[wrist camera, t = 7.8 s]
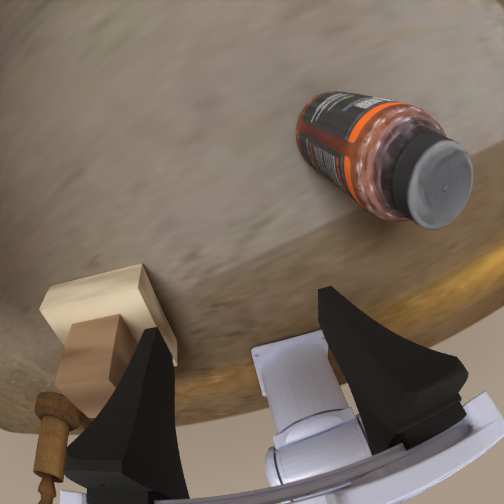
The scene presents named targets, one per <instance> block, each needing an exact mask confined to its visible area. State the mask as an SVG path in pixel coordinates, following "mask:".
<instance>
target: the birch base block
mask: <svg viewBox="0 0 504 504" xmlns="http://www.w3.org/2000/svg"><path fill="white" fill-rule="evenodd" d="M39 310H40V311H41V313H42V315H43V316H44V317H45V319H46V320H47V322H48V323H49V325H50V326H51V328H52V329H53V330H54V332H55V333H56V335H57V336H58V337H59V339H60V340H61V342H62V343H63V344H64V346H65V344H66V341H67V338H68V335H69V332H70V328H71V325H72V324H74V323H78V322H83V321H88V320H93V319H98V318H102V317H107V316H112V315H116V314H120V315H121V317H122V318H123V320H124V322H125V324H126V325H127V327H128V328H129V330H130V332H131V333H132V335H133V337H134V338H135V340H136V341H137V343H139V340H140V338H141V336H142V334H143V331H144V330H145V329H148V328H153V327H158V329H159V331H160V333H161V335H162V337H163V338H164V340H165V342H166V344H167V346H168V348H169V350H170V352H171V353H172V355H173V364H174V366H178V365H177V340H176V338H175V336H174V334H173V332H172V329H171V327H170V325H169V323H168V321H167V319H166V317H165V315H164V312H163V310H162V308H161V306H160V304H159V301H158V299H157V297H156V295H155V292H154V290H153V288H152V285H151V283H150V281H149V278H148V276H147V274H146V271H145V269H144V266H143V264H138V265H133V266H129V267H125V268H121V269H117V270H113V271H109V272H105V273H101V274H97V275H93V276H88V277H84V278H80V279H76V280H72V281H68V282H64V283H60V284H57V285H53V286H50V287H49V289H48V292H47V294H46V296H45V298H44V300H43V302H42V304H41V306H40V308H39Z"/></svg>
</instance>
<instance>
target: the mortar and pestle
mask: <svg viewBox="0 0 504 504" xmlns="http://www.w3.org/2000/svg"><path fill="white" fill-rule="evenodd" d="M34 410H35V413H36V415H37V416H38V418H39V419H40V421H41V427H40V433H39V438H38V444H37V450H36V457H35V463H34V470H33V472H34V473H35V474H36V475H38V476H39V477H42V480H41V482H40V485H39V487H38V492H40V494H41V500H40V502H39V503H38V504H52V501H53V498H54V497H56V490H55V485H54V482H58V483H62V482H63V479H64V462H65V453H66V447H67V441H68V435H69V431H73V430H74V429H77V428H78V427H79V425H80V419H81V413H82V411H80V410H79V409H78V408H77V407H76V406H75V405H74V404H73V403H72V402H71V401H70V400H69V399H68V398H67V397H65V396H63V395H60V394H56V393H52V392H42V393H40V394H39V395H38V396H37V400H36V404H35V409H34Z"/></svg>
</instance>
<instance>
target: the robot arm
mask: <svg viewBox="0 0 504 504" xmlns="http://www.w3.org/2000/svg"><path fill="white" fill-rule="evenodd" d="M318 321H319V324H320V327H321V329H322V330H318V331H315V332H311V333H308V334H304V335H300V336H297V337H293V338H289V339H285V340H282V341H278V342H274V343H270V344H266V345H262V346H258V347H254V348H253V349H252V350H251V353H252V357H253V361H254V364H255V368H256V372H257V376H258V380H259V383H260V387H261V391H262V395H263V396H267V399H268V403H269V407H270V411H271V414H272V418H273V422H274V425H275V429H276V433H277V435H276V436H274V437H273V441H274V445H275V446H273V447H270V448H269V449H268V452H267V454H266V456H265V469H266V474H267V477H268V480H269V483H270V486H271V487H269V488H264V489H259V490H253V491H248V492H242V493H236V494H229V495H222V496H215V497H205V498H195V499H190V497H189V494H188V490H187V487H186V483H185V479H184V474H183V470H182V465H181V461H180V456H179V450H178V443H177V436H176V429H175V374H174V364H173V355H172V353H171V352H170V350H169V348H168V346H167V344H166V342H165V340H164V338H163V337H162V335H161V333H160V331H159V329H158V327H153V328H148V329H145V330H144V331H143V334H142V336H141V338H140V340H139V343H138V345H137V347H136V349H135V352H134V354H133V356H132V358H131V360H130V362H129V364H128V366H127V368H126V370H125V372H124V374H123V376H122V378H121V380H120V382H119V384H118V385H117V387H116V389H115V391H114V392H113V394H112V395H111V397H110V398H109V400H108V402H107V403H106V404H105V406H104V407H103V409H102V410H101V411H100V413H99V414H98V415H97V416H96V418H95V419H94V420H93V421H92V423H91V424H90V425H89V426H88V427H87V428H86V429H85V430H84V431H83V432H82V433H81V434H80V435H79V436H78V437H77V438H76V439H75V440H74V441H73V442H72V443H71V444H70V445H69V446H68V447H66V453H65V462H64V475H65V476H66V477H67V478H69V479H70V480H72V481H74V482H75V483H77V484H79V485H81V486H83V487H85V488H87V494H84V493H80V492H74V491H66V490H61V491H60V504H275V503H281V504H399V503H401V502H403V501H405V500H407V499H409V498H411V497H413V496H415V495H417V494H419V493H421V492H423V491H425V490H427V489H428V488H430V487H432V486H433V485H435V484H437V483H439V482H440V481H442V480H444V479H445V478H447V477H449V476H450V475H452V474H454V473H455V472H457V471H458V470H460V469H461V468H463V467H464V466H465V465H467V464H469V463H470V462H472V461H473V460H475V459H476V458H477V457H479V456H480V455H482V454H483V453H484V452H486V451H487V450H488V449H489V448H491V447H492V446H493V445H494V444H495V443H497V442H498V441H499V440H500V439H501V438H502V437H504V419H503V417H502V415H501V414H500V412H499V411H498V409H497V408H496V406H495V404H494V403H493V401H492V400H491V398H490V397H489V395H488V394H487V392H486V391H483V392H482V393H481V394H479V395H478V396H476V397H474V398H473V399H471V400H470V401H469V402H467V403H466V404H465V405H463V406H462V405H461V403H460V401H461V397H460V395H459V394H458V392H459V391H460V390H461V388H462V387H463V385H464V383H465V382H466V380H467V378H468V372H467V370H466V369H465V367H464V365H463V364H462V363H461V361H460V360H459V359H458V358H457V357H455V356H451V355H448V354H444V353H441V352H437V351H434V350H431V349H429V348H426V347H423V346H421V345H418V344H416V343H414V342H412V341H409V340H407V339H405V338H403V337H401V336H399V335H397V334H395V333H394V332H392V331H390V330H388V329H387V328H385V327H384V326H382V325H380V324H379V323H378V322H376V321H375V320H373V319H372V318H370V317H369V316H368V315H366V314H365V313H364V312H362V311H361V310H360V309H358V308H357V307H356V306H355V305H353V304H352V303H351V302H350V301H348V300H347V299H346V298H345V297H344V296H342V295H341V294H340V293H339V292H338V291H337V290H335V289H334V288H333V287H332V286H329V287H325V288H322V289H318ZM328 346H329V348H330V349H331V351H332V353H333V355H334V357H335V359H336V361H337V363H338V365H339V366H340V368H341V370H342V372H343V374H344V376H345V378H346V380H347V382H348V384H349V387H350V389H351V392H352V395H353V397H354V400H355V402H356V406H357V408H358V411H359V414H357V415H356V417H357V419H356V417H355V415H354V412H353V410H352V408H351V407H349V406H348V404H347V401H346V399H345V397H344V394H343V392H342V390H341V388H340V385H339V383H338V381H337V379H336V376H335V374H334V372H333V370H332V367H331V365H330V363H329V361H328Z"/></svg>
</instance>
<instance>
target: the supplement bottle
mask: <svg viewBox="0 0 504 504" xmlns="http://www.w3.org/2000/svg"><path fill="white" fill-rule="evenodd" d="M296 139H297V144H298V147H299V150H300V152H301V154H302V155H303V157H304V158H305V160H306V161H307V162H308V163H309V164H310V165H311V166H312V167H313V168H315V169H316V170H317V171H319V172H320V173H321V174H323V175H324V176H325V177H326V178H328V179H329V180H330V181H332V182H333V183H334V184H335V185H337V186H338V187H339V188H340V189H342V190H343V191H344V192H345V193H346V194H348V195H349V196H350V197H351V198H352V199H354V200H355V201H356V202H357V203H359V204H360V205H361V206H362V207H363V208H365V209H366V210H367V211H368V212H370V213H372V214H373V215H374V216H376V217H378V218H381V219H384V220H387V221H392V222H401V221H407V220H410V219H411V220H412V221H414V222H415V223H416V224H417V225H418V226H420V227H422V228H425V229H429V230H436V229H439V228H442V227H444V226H447V225H448V224H449V223H451V222H452V221H453V220H454V219H455V218H456V217H457V216H458V215H459V214H460V213H461V211H462V210H463V208H464V207H465V205H466V203H467V201H468V199H469V196H470V193H471V189H472V185H473V166H472V162H471V159H470V156H469V154H468V152H467V151H466V150H465V148H464V147H463V146H462V145H461V144H459V143H458V142H456V141H454V140H452V139H449V138H447V137H446V135H445V132H444V131H443V129H442V127H441V126H440V124H439V123H438V122H437V121H436V119H435V118H434V117H433V116H432V115H430V114H429V113H428V112H426V111H424V110H422V109H420V108H418V107H415V106H412V105H409V104H404V103H400V102H396V101H392V100H387V99H382V98H376V97H372V96H366V95H360V94H354V93H348V92H338V91H334V92H327V93H323V94H321V95H319V96H317V97H315V98H314V99H312V100H311V101H310V102H309V103H308V104H307V105H306V106H305V107H304V109H303V110H302V112H301V114H300V116H299V119H298V122H297V127H296Z"/></svg>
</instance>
